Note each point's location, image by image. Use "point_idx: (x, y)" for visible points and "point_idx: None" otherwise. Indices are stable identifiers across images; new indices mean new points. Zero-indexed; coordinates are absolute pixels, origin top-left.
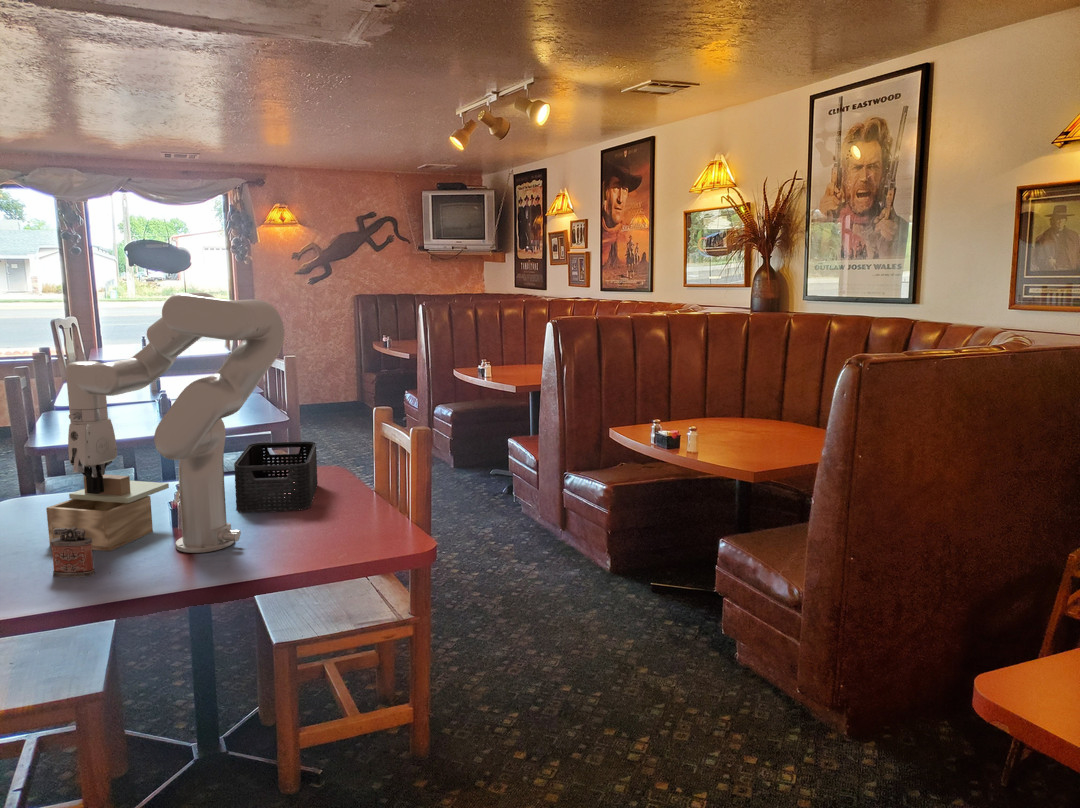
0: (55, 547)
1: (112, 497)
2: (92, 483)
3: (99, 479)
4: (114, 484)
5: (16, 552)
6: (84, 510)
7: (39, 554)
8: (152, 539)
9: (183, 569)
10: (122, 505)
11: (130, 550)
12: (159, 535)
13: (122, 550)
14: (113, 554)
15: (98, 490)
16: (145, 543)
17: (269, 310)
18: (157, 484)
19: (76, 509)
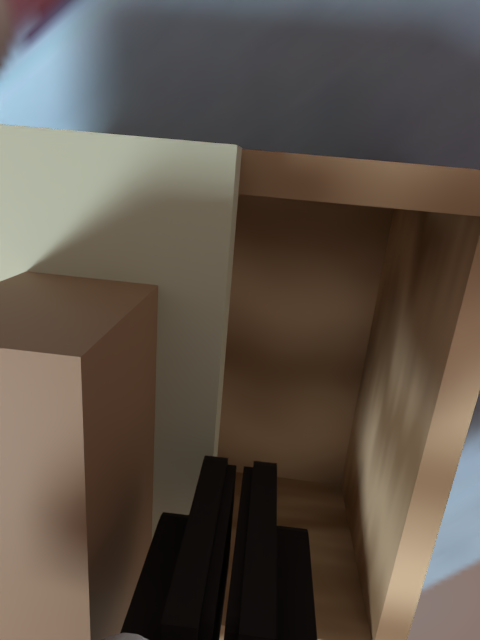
0: None
1: (222, 338)
2: (313, 602)
3: (247, 590)
4: (118, 410)
5: (442, 554)
6: (463, 413)
7: (467, 463)
8: (202, 57)
9: None
10: (280, 186)
11: (400, 60)
12: (131, 63)
13: (401, 110)
14: (470, 117)
15: (276, 485)
16: (274, 52)
17: None
18: None
19: (434, 484)
